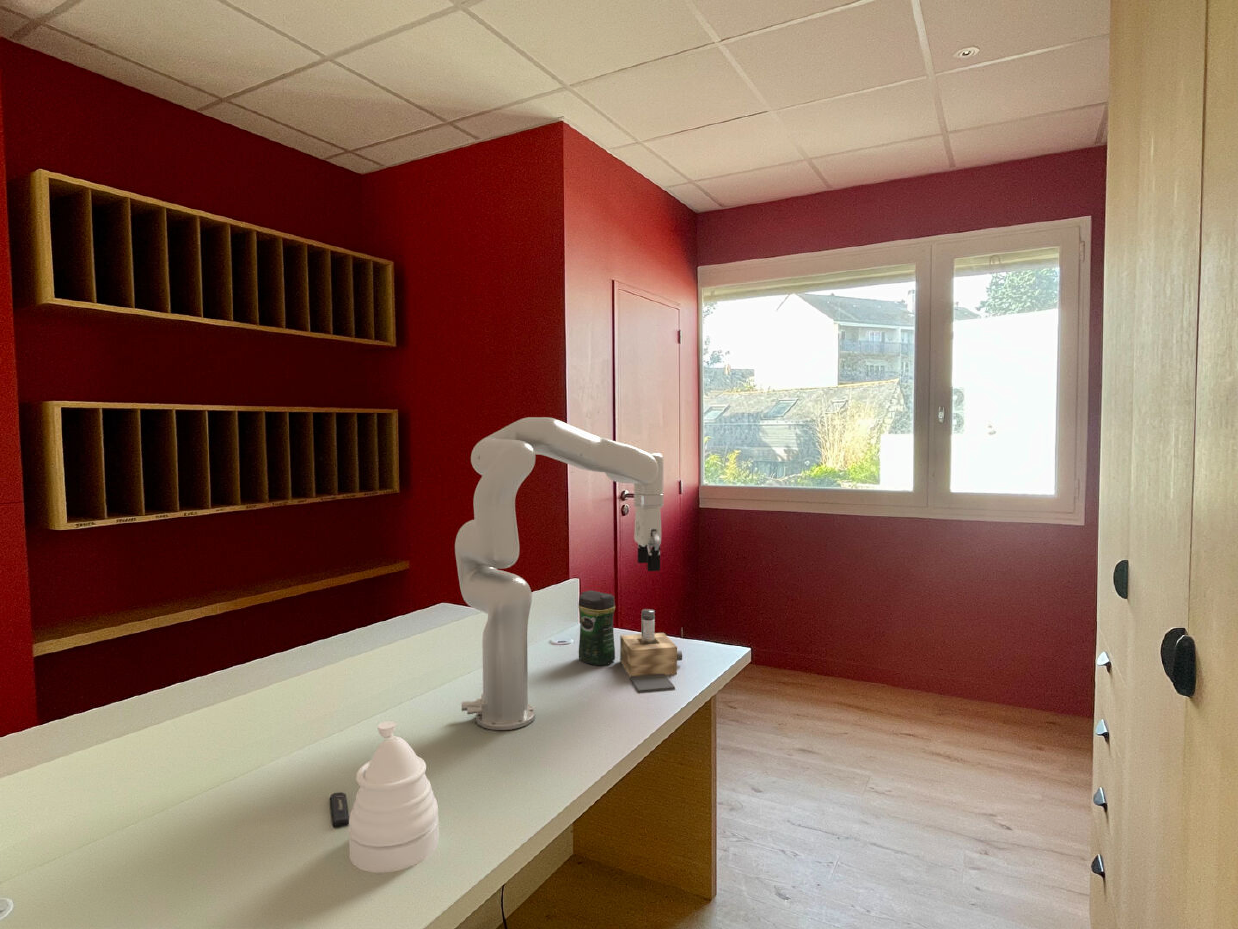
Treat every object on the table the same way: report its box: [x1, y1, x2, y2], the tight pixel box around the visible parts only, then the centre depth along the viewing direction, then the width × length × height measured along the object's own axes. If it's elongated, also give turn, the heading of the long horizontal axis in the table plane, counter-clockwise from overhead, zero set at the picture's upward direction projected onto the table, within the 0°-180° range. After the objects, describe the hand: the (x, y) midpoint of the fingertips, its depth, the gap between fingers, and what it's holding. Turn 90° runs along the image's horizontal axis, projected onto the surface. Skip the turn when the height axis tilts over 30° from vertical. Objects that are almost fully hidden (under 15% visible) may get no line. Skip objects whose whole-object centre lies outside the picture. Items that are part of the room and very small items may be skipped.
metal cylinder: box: [641, 608, 656, 645], centre depth 178 cm, size 3×3×12 cm
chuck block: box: [619, 632, 683, 677], centre depth 179 cm, size 15×12×7 cm
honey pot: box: [348, 720, 440, 874], centre depth 103 cm, size 13×13×18 cm
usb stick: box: [329, 791, 350, 829], centre depth 112 cm, size 10×3×2 cm, turn 26°
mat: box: [629, 674, 676, 693], centre depth 167 cm, size 9×9×1 cm
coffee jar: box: [578, 589, 616, 666], centre depth 183 cm, size 10×8×19 cm
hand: (648, 566), depth 177 cm, fingers open, 9 cm apart
